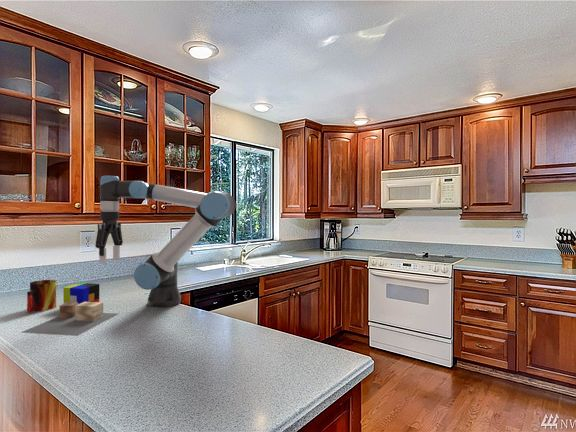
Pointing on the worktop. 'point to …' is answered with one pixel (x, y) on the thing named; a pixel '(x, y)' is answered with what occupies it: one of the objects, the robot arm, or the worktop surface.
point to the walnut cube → (67, 309)
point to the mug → (41, 295)
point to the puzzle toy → (81, 293)
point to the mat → (67, 325)
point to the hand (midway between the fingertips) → (109, 261)
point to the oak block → (89, 311)
